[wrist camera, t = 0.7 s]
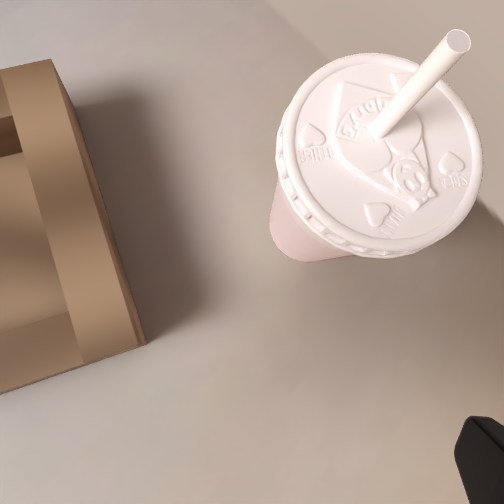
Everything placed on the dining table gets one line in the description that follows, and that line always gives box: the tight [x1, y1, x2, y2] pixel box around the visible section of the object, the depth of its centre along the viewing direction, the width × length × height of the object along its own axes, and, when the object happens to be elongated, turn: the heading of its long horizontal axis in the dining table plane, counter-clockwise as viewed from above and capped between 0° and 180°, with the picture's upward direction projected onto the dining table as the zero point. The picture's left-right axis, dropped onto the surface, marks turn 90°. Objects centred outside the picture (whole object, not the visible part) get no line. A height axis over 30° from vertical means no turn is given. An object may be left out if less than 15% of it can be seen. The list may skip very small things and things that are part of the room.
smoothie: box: [269, 29, 483, 262], centre depth 17 cm, size 6×6×14 cm
